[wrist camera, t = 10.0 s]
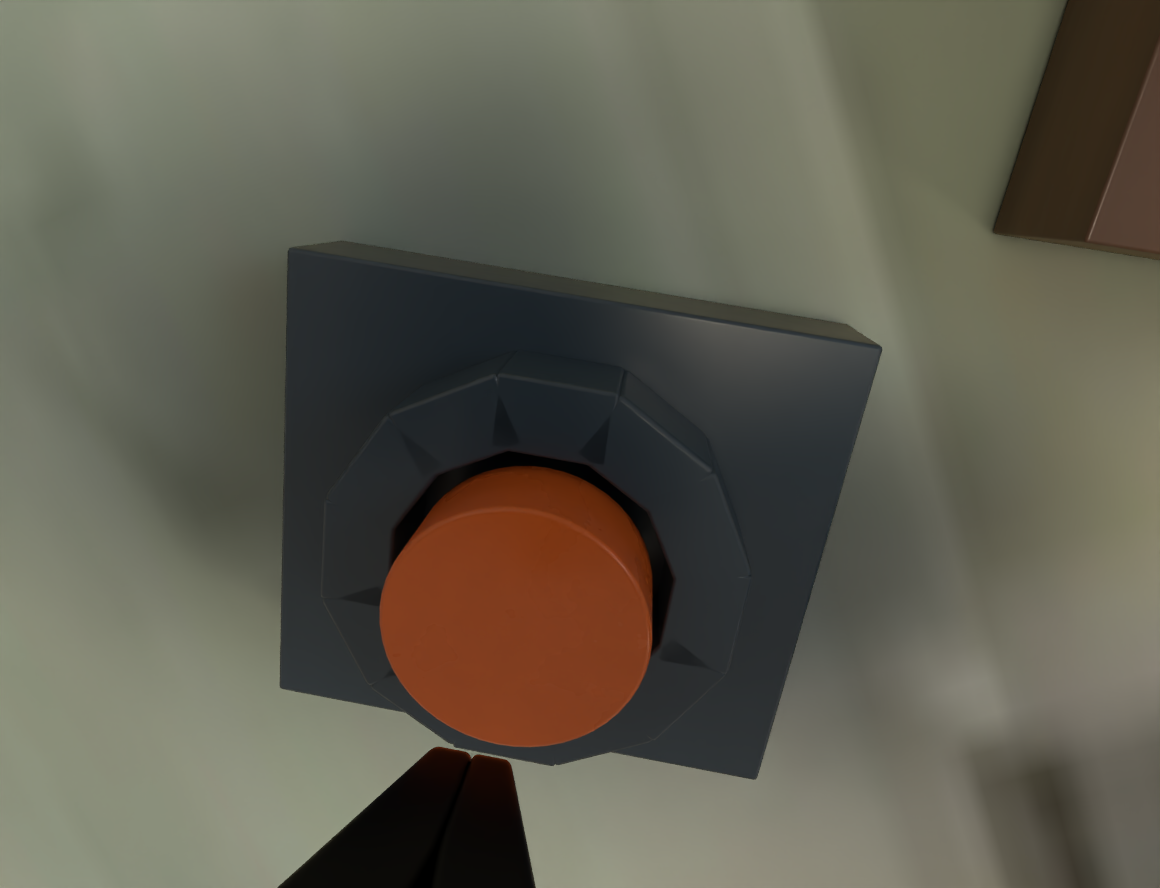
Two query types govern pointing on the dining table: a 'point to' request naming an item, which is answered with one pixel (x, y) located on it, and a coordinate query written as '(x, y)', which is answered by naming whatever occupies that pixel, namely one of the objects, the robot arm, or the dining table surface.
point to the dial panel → (1094, 136)
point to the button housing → (573, 445)
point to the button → (521, 608)
